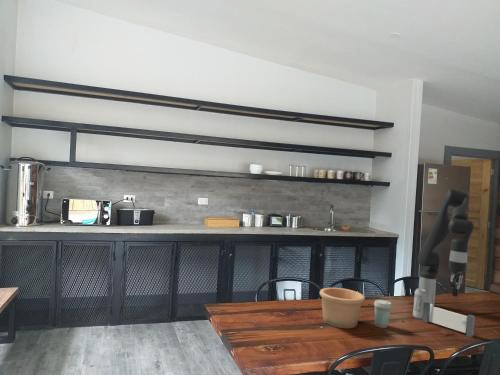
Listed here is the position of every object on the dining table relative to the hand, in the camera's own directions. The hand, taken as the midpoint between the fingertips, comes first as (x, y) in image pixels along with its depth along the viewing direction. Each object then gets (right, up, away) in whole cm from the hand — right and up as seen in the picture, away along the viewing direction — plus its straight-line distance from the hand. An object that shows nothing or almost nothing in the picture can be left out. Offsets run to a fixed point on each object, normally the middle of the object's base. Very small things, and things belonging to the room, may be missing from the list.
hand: (455, 296), depth 184 cm
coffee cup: (-34, -16, +5) cm, 38 cm away
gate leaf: (0, -18, +8) cm, 19 cm away
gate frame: (0, -19, +8) cm, 20 cm away
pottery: (-55, -15, +5) cm, 57 cm away
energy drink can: (-8, -18, +23) cm, 30 cm away
